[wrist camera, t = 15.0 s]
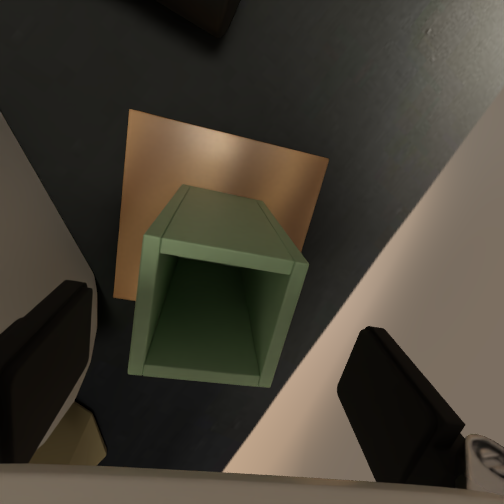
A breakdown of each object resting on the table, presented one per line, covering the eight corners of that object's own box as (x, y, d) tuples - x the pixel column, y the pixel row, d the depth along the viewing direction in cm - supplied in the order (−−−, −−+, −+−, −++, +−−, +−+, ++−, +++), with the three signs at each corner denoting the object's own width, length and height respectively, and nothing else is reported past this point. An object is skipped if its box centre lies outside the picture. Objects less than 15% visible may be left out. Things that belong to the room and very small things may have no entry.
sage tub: (263, 200, 22) (310, 264, 11) (245, 273, 24) (270, 388, 13) (182, 183, 21) (142, 234, 10) (170, 260, 23) (127, 374, 12)
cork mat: (327, 158, 22) (329, 158, 22) (279, 317, 27) (280, 321, 26) (131, 109, 20) (129, 108, 19) (114, 294, 24) (113, 297, 24)
